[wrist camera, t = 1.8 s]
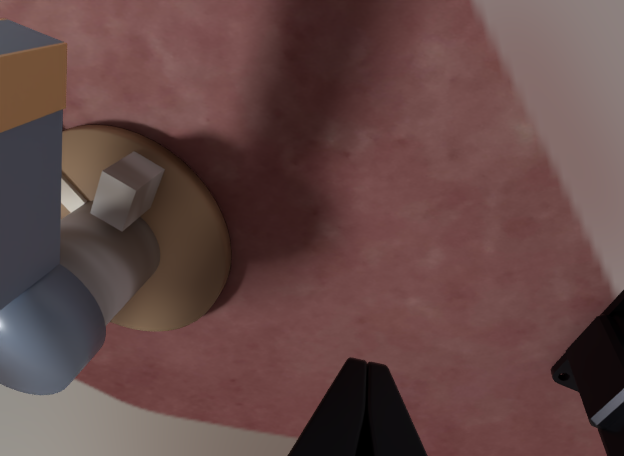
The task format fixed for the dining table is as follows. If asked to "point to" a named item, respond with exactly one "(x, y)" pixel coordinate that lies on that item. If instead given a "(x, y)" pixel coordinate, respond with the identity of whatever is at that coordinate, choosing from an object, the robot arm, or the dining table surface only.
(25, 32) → the orange-banded blue bar
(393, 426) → the robot arm
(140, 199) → the tan disc with post
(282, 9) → the dining table surface
